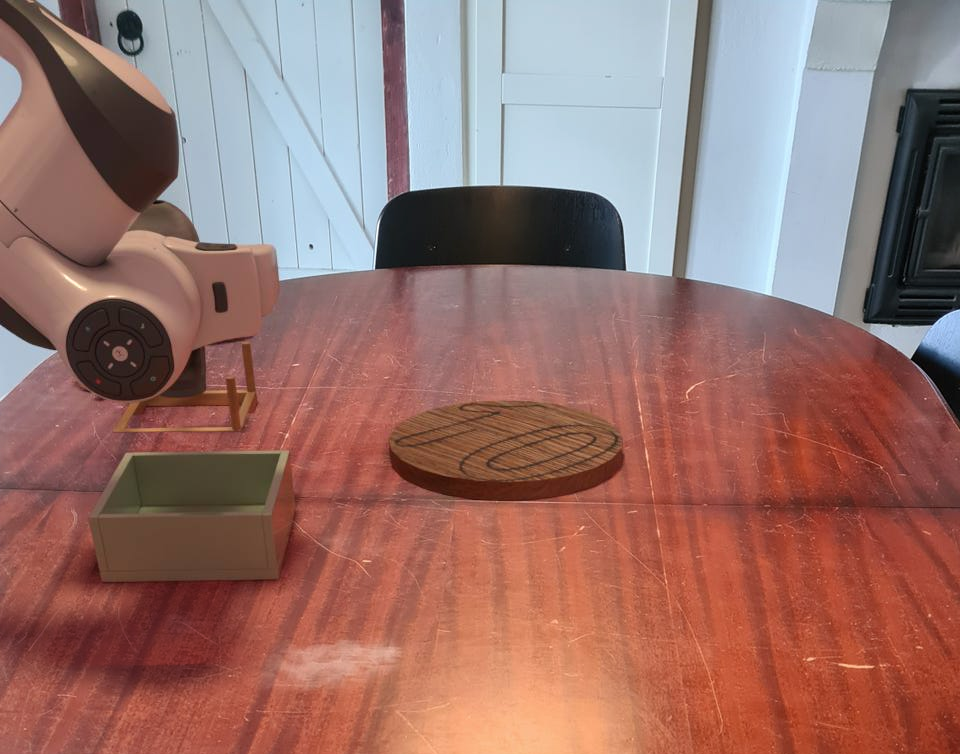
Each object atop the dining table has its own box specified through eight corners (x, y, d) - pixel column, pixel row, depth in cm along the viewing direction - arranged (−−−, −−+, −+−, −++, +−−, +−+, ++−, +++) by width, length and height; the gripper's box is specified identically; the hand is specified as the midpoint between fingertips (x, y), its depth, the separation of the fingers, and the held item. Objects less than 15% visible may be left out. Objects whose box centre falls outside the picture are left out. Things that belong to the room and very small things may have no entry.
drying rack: (115, 445, 136) (103, 380, 132) (140, 403, 147) (129, 342, 143) (242, 443, 136) (234, 378, 132) (257, 402, 147) (250, 341, 143)
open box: (101, 582, 109) (87, 517, 105) (136, 512, 121) (125, 452, 117) (278, 579, 109) (271, 514, 105) (295, 510, 121) (289, 450, 118)
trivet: (341, 456, 133) (340, 439, 132) (502, 402, 147) (502, 386, 146) (509, 521, 119) (509, 502, 118) (669, 454, 133) (671, 436, 132)
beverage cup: (158, 408, 109) (115, 149, 97) (129, 387, 114) (84, 138, 102) (234, 393, 112) (202, 140, 100) (202, 374, 117) (167, 131, 105)
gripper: (17, 344, 97) (48, 300, 108) (280, 334, 99) (283, 292, 109) (-2, 256, 93) (31, 221, 104) (271, 248, 95) (275, 213, 106)
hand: (162, 257), depth 107 cm, fingers closed on beverage cup, 7 cm apart
